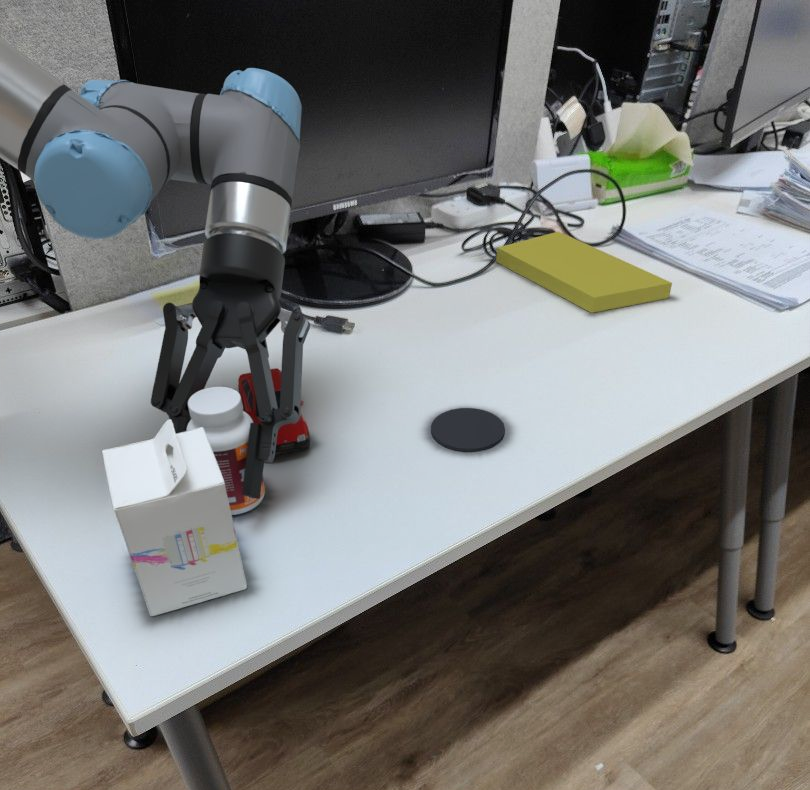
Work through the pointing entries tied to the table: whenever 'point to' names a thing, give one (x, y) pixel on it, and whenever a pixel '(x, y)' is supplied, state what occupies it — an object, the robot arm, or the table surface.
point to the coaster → (467, 429)
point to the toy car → (289, 434)
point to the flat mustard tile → (582, 273)
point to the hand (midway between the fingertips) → (215, 492)
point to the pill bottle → (226, 439)
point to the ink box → (175, 518)
